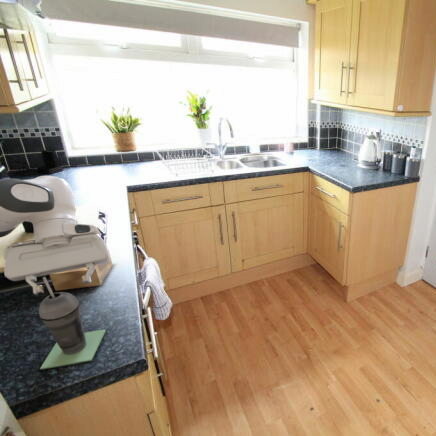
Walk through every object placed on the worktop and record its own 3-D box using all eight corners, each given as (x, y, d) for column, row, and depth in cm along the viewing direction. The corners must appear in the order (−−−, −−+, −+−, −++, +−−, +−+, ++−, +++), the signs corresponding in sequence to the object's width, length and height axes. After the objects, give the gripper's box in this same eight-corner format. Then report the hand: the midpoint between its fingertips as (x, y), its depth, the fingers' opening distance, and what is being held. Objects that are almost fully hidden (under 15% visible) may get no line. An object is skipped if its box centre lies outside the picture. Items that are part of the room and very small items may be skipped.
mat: (40, 369, 71) (39, 368, 71) (60, 337, 80) (60, 336, 80) (91, 360, 74) (91, 359, 74) (106, 330, 83) (105, 329, 82)
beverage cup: (70, 363, 73) (40, 292, 64) (48, 354, 75) (16, 284, 66) (100, 340, 79) (76, 273, 71) (79, 333, 81) (54, 266, 73)
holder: (55, 290, 97) (49, 274, 94) (72, 269, 107) (67, 254, 105) (100, 285, 100) (95, 269, 97) (112, 265, 110) (108, 250, 108)
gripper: (-4, 240, 74) (0, 298, 70) (101, 224, 83) (109, 274, 80) (9, 248, 79) (13, 303, 76) (106, 232, 89) (114, 279, 85)
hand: (63, 288), depth 78 cm, fingers open, 8 cm apart
